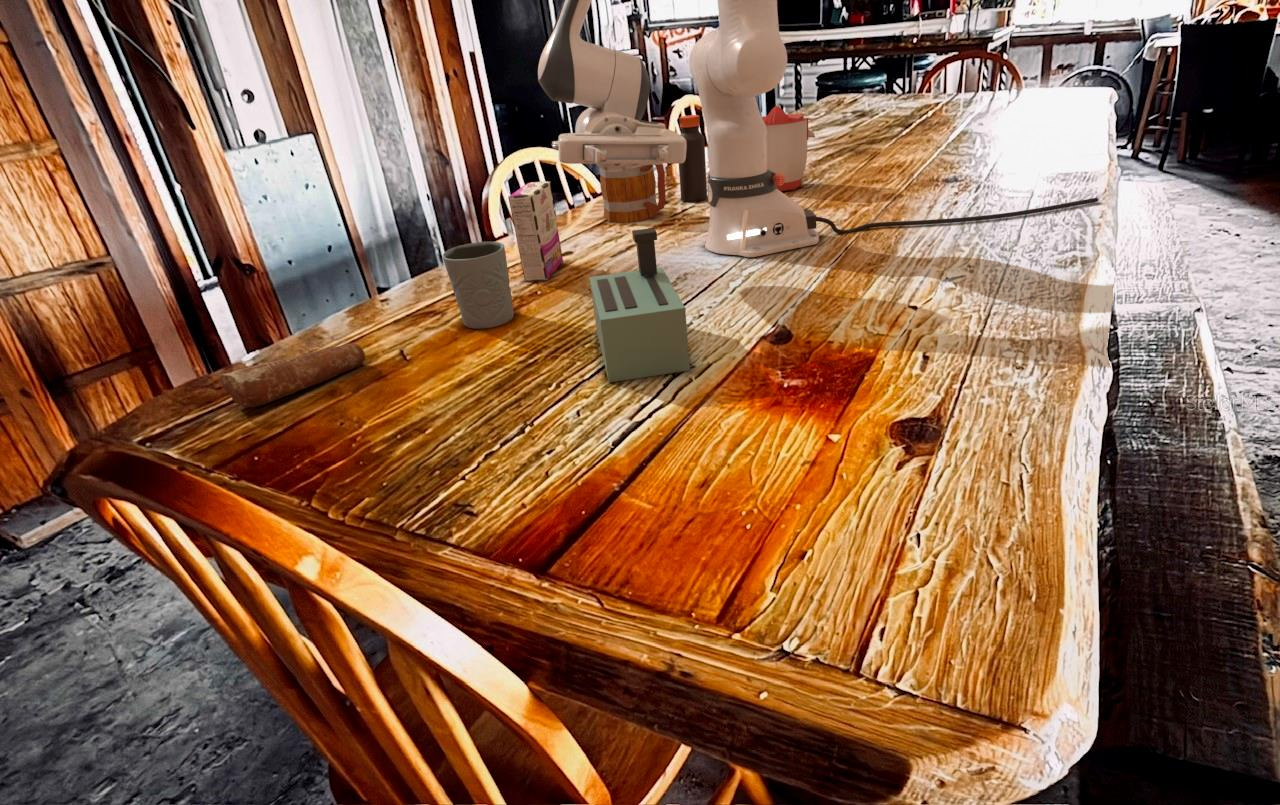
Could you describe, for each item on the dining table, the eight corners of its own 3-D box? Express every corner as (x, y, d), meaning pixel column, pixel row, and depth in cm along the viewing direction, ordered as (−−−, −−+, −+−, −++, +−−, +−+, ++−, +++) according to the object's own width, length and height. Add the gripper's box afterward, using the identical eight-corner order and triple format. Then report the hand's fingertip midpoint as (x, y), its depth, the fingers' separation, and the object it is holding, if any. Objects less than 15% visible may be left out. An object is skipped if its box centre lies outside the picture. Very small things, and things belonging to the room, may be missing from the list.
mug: (592, 218, 174) (584, 155, 167) (633, 206, 182) (627, 145, 174) (645, 229, 161) (638, 161, 153) (687, 215, 168) (683, 149, 161)
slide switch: (657, 269, 104) (653, 227, 101) (660, 274, 102) (656, 231, 99) (636, 272, 104) (631, 230, 101) (638, 277, 102) (634, 234, 99)
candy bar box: (540, 263, 145) (527, 182, 137) (564, 262, 144) (551, 180, 136) (522, 282, 135) (506, 195, 127) (547, 281, 134) (532, 194, 126)
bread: (229, 406, 99) (214, 370, 96) (359, 359, 109) (349, 325, 107) (242, 420, 94) (227, 383, 92) (376, 369, 105) (366, 335, 102)
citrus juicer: (820, 190, 176) (822, 105, 167) (751, 197, 177) (749, 112, 168) (807, 178, 190) (809, 98, 181) (743, 184, 191) (741, 105, 182)
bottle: (711, 196, 183) (708, 114, 173) (699, 202, 178) (695, 118, 168) (689, 195, 186) (683, 114, 177) (676, 201, 181) (670, 119, 172)
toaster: (666, 322, 110) (661, 265, 106) (689, 370, 94) (685, 306, 90) (596, 332, 109) (589, 275, 105) (608, 382, 94) (600, 318, 89)
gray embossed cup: (489, 334, 113) (474, 261, 107) (445, 326, 118) (428, 256, 112) (530, 311, 120) (517, 242, 115) (486, 305, 125) (472, 238, 120)
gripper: (549, 121, 112) (563, 134, 100) (672, 123, 117) (699, 135, 105) (550, 162, 115) (563, 179, 103) (670, 162, 120) (695, 178, 108)
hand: (633, 157), depth 104 cm, fingers open, 8 cm apart
